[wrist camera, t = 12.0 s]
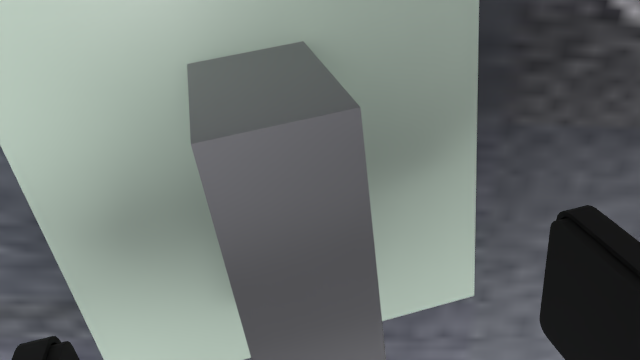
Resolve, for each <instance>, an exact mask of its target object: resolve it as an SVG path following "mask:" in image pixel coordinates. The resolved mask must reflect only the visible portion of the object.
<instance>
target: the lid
mask: <svg viewBox="0 0 640 360" xmlns="http://www.w3.org/2000/svg"><path fill="white" fill-rule="evenodd" d="M478 36H479V0H0V145H1V147H2V149H3V152H4V154H5V156H6V158H7V160H8V162H9V164H10V166H11V168H12V170H13V172H14V174H15V176H16V178H17V181H18V183H19V185H20V187H21V189H22V191H23V193H24V195H25V197H26V199H27V201H28V203H29V205H30V207H31V210H32V212H33V214H34V216H35V218H36V220H37V222H38V224H39V226H40V228H41V230H42V232H43V234H44V236H45V239H46V241H47V243H48V245H49V247H50V249H51V251H52V253H53V255H54V257H55V259H56V261H57V263H58V265H59V268H60V270H61V272H62V274H63V276H64V278H65V280H66V282H67V284H68V286H69V288H70V290H71V292H72V294H73V297H74V299H75V301H76V303H77V305H78V307H79V309H80V311H81V313H82V315H83V317H84V319H85V321H86V323H87V326H88V328H89V330H90V332H91V334H92V336H93V338H94V340H95V342H96V344H97V346H98V348H99V350H100V352H101V355H102V357H103V359H104V360H244V359H247V358H251V359H252V360H386V355H385V345H384V335H383V325H382V321H385V320H388V319H392V318H395V317H399V316H403V315H406V314H410V313H414V312H417V311H421V310H424V309H428V308H432V307H435V306H439V305H442V304H446V303H450V302H453V301H457V300H461V299H464V298H468V297H471V296H474V276H475V216H476V156H477V96H478Z"/></svg>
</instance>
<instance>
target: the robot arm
mask: <svg viewBox="0 0 640 360" xmlns="http://www.w3.org/2000/svg"><path fill="white" fill-rule="evenodd" d="M540 324H541V327H542V330H543V332H544V334H545V335H546V336H547V338H548V339H549V340H550V341H551V343H552V344H553V345H554V346H555V348H556V349H557V350H558V351H559V353H560V354H561V355H562V356H563V357H564V359H565V360H640V242H639V241H637V240H636V239H635V238H634V237H632V236H631V235H630V234H628V233H627V232H626V231H625V230H623V229H622V228H621V227H619V226H618V225H617V224H615V223H614V222H613V221H612V220H610V219H609V218H608V217H606V216H605V215H604V214H603V213H601V212H600V211H599V210H597V209H596V208H594V207H593V206H588V205H587V206H583V207H578V208H574V209H570V210H566V211H563V212H560V213H559V214H558V216H557V219H556V221H553V223H552V224H551V227H550V236H549V244H548V252H547V261H546V269H545V277H544V285H543V294H542V302H541V310H540ZM12 360H79V358H78V356H77V354H76V352H75V350H74V348H73V346H72V345H71V343H70V342H68V341H66V342H62V343H61V342H60V340H59V339H58V338H57V337H56V336H52V337H47V338H43V339H39V340H35V341H31V342H27V343H23V344H20V345H19V346H18V347H17V348H16V350H15V352H14V355H13V358H12Z"/></svg>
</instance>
